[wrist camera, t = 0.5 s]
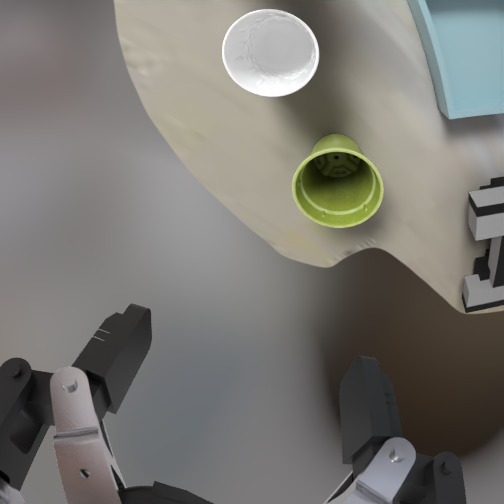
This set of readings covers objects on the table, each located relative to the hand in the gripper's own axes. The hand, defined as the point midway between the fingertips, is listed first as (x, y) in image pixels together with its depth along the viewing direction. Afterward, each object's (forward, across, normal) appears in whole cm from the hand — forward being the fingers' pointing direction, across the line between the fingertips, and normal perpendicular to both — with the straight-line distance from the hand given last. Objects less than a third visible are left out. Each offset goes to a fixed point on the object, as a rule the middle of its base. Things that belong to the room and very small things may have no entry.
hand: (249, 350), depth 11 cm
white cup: (+27, +3, -16) cm, 31 cm away
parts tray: (+24, -18, -23) cm, 38 cm away
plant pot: (+30, -6, -4) cm, 31 cm away
